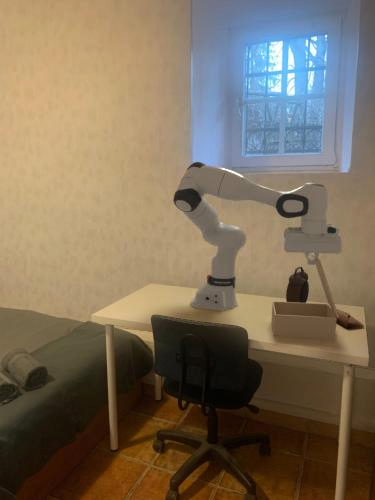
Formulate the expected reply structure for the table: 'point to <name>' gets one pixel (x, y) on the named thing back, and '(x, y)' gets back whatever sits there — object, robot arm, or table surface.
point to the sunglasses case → (347, 320)
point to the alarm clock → (298, 287)
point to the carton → (303, 320)
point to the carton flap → (325, 285)
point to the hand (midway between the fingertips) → (311, 264)
